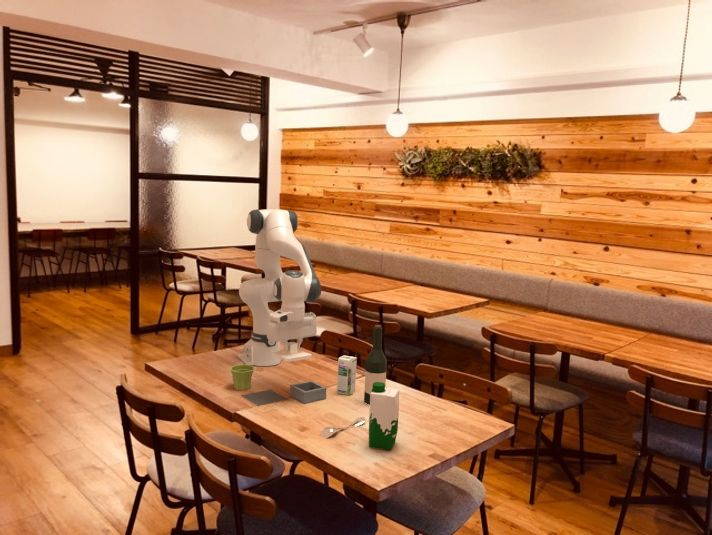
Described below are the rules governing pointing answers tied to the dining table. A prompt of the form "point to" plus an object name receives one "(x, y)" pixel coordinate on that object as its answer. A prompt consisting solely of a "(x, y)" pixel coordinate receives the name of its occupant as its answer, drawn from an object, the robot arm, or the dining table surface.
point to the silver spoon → (331, 430)
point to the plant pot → (242, 376)
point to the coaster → (264, 397)
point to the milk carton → (383, 416)
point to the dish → (308, 392)
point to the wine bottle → (375, 364)
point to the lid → (292, 353)
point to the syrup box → (346, 375)
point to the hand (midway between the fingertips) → (291, 350)
